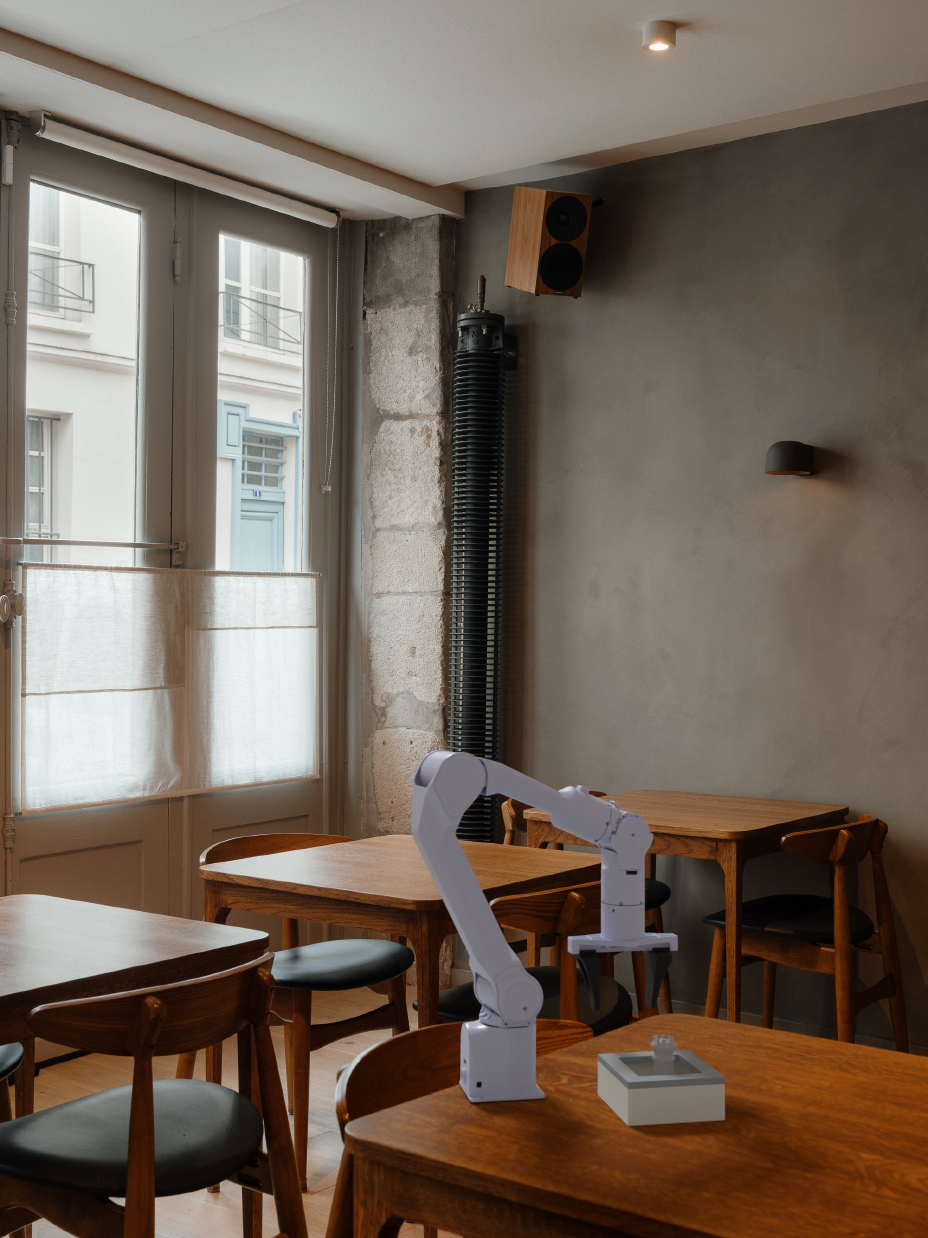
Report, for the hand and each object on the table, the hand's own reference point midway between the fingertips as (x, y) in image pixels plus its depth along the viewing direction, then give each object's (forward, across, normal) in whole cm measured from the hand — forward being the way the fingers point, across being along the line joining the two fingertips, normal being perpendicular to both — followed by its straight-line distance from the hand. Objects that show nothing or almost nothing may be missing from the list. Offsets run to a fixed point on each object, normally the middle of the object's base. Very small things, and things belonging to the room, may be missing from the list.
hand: (623, 1007), depth 166 cm
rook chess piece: (+9, +1, -12) cm, 15 cm away
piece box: (+9, +1, -11) cm, 15 cm away
